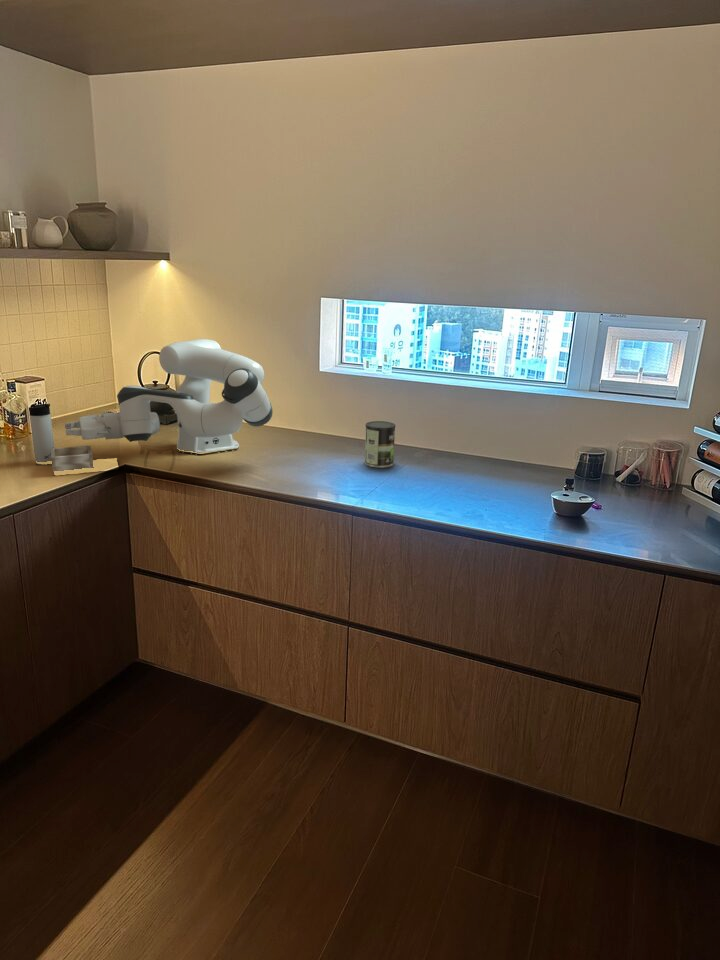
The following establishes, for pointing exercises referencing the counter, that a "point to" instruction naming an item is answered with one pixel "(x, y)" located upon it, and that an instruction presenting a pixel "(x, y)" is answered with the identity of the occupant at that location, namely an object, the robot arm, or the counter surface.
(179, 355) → the robot arm
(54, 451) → the mug caddy
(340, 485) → the counter surface
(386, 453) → the coffee can
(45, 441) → the travel mug
